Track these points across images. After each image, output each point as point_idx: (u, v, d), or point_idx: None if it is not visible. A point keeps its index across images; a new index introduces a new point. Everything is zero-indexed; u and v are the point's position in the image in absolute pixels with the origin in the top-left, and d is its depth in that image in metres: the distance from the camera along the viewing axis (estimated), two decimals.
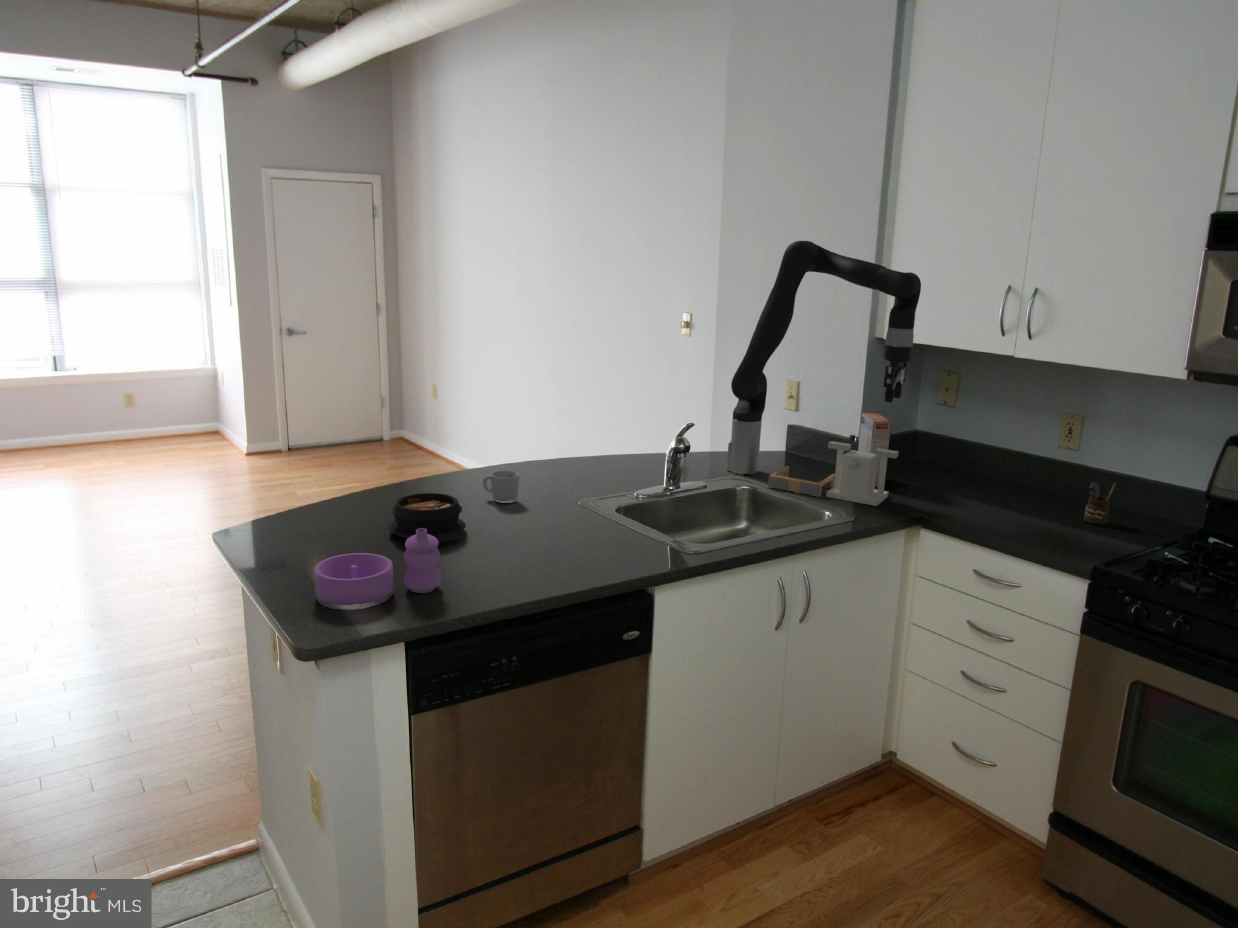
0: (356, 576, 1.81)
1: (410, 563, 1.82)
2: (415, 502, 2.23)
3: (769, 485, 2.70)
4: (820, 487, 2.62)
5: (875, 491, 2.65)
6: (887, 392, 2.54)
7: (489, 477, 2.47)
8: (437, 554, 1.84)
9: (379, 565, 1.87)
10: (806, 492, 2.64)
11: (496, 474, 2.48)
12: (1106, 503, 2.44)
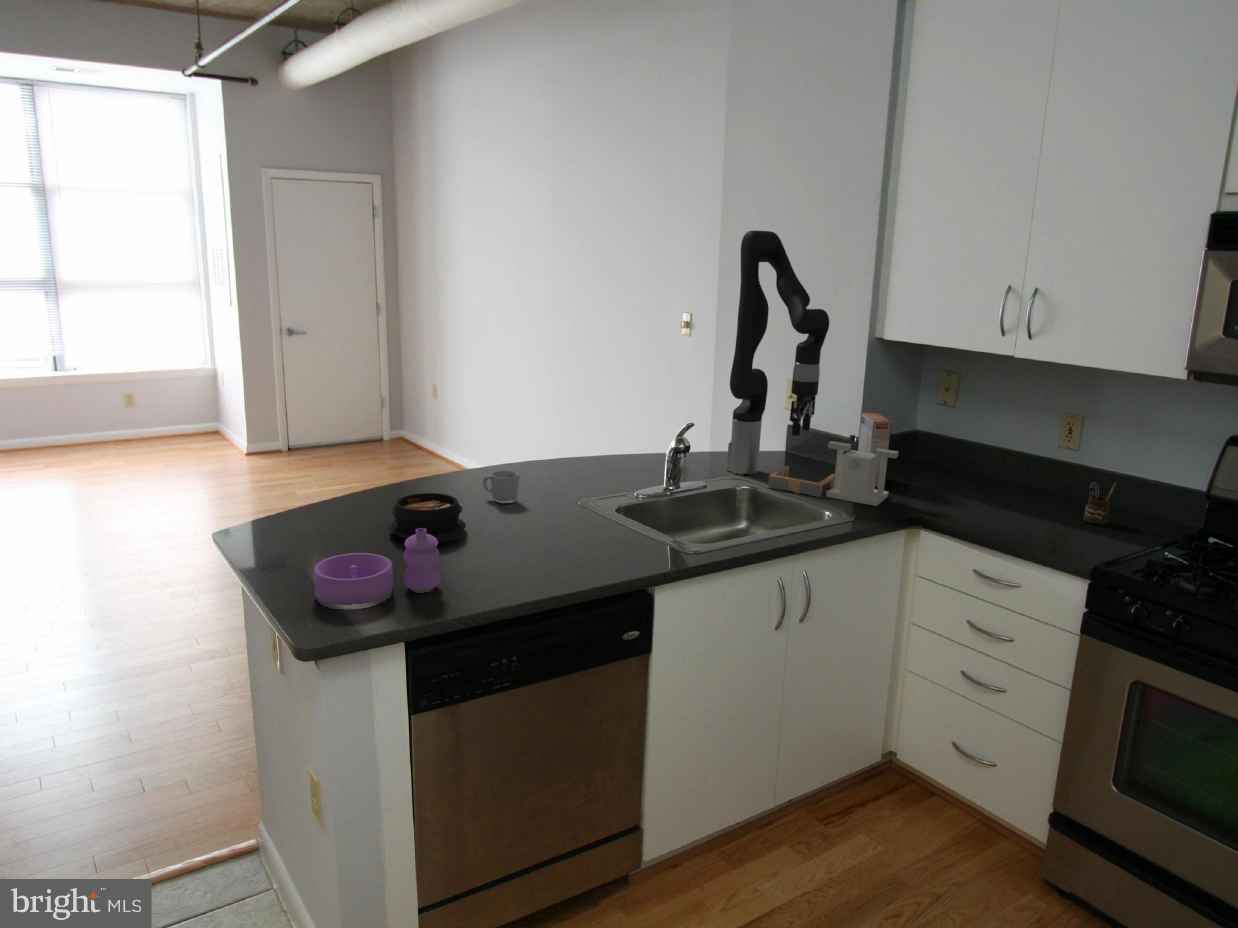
0: (356, 576, 1.81)
1: (410, 563, 1.82)
2: (415, 502, 2.23)
3: (769, 485, 2.70)
4: (820, 487, 2.62)
5: (875, 491, 2.65)
6: (794, 426, 2.58)
7: (489, 477, 2.47)
8: (437, 554, 1.84)
9: (378, 565, 1.87)
10: (806, 492, 2.64)
11: (496, 474, 2.48)
12: (1106, 503, 2.44)
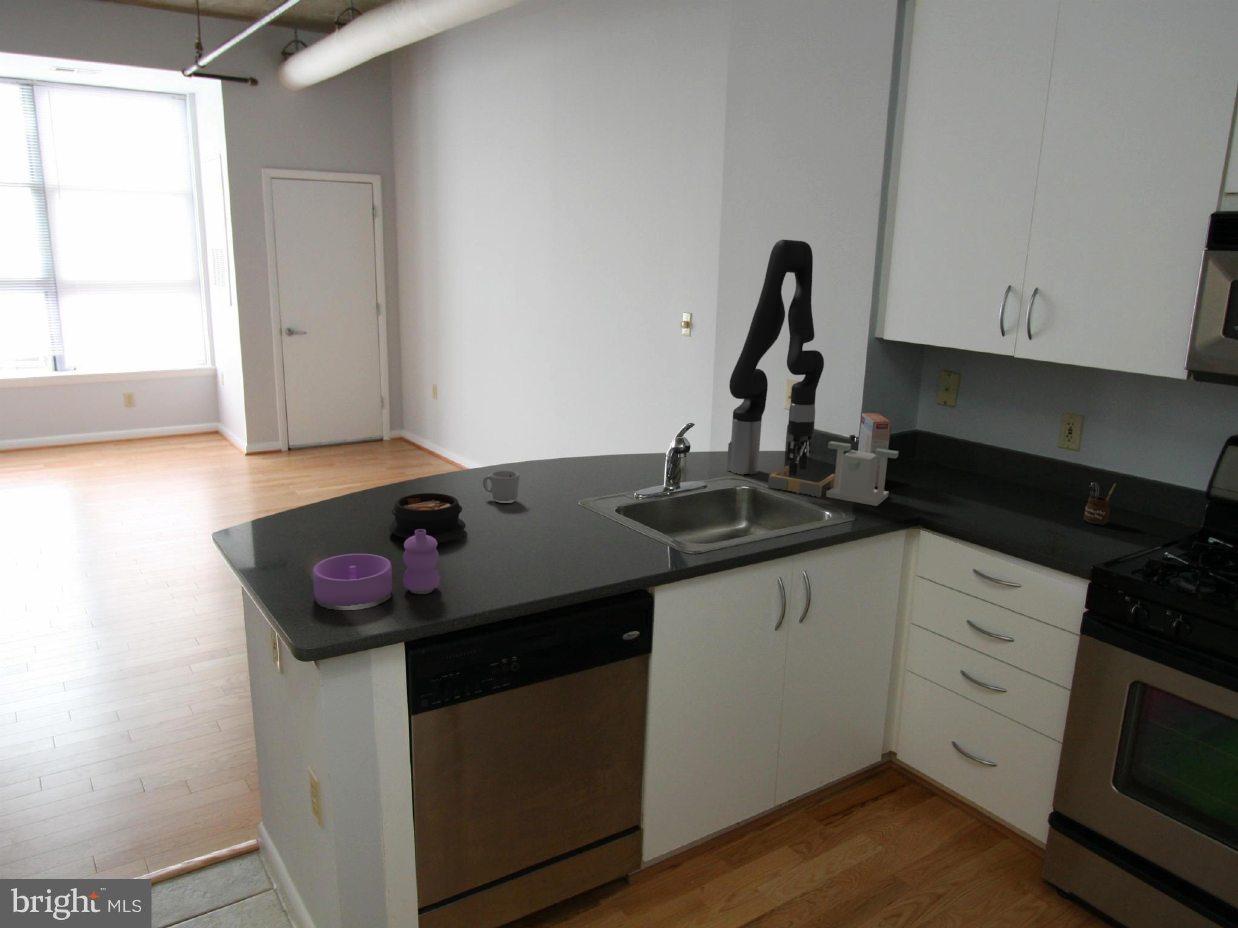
0: (355, 577, 1.81)
1: (409, 564, 1.82)
2: (415, 502, 2.23)
3: (769, 485, 2.70)
4: (820, 487, 2.62)
5: (875, 491, 2.65)
6: (791, 466, 2.61)
7: (489, 477, 2.47)
8: (436, 555, 1.83)
9: (378, 566, 1.87)
10: (806, 492, 2.64)
11: (496, 474, 2.48)
12: (1106, 503, 2.44)
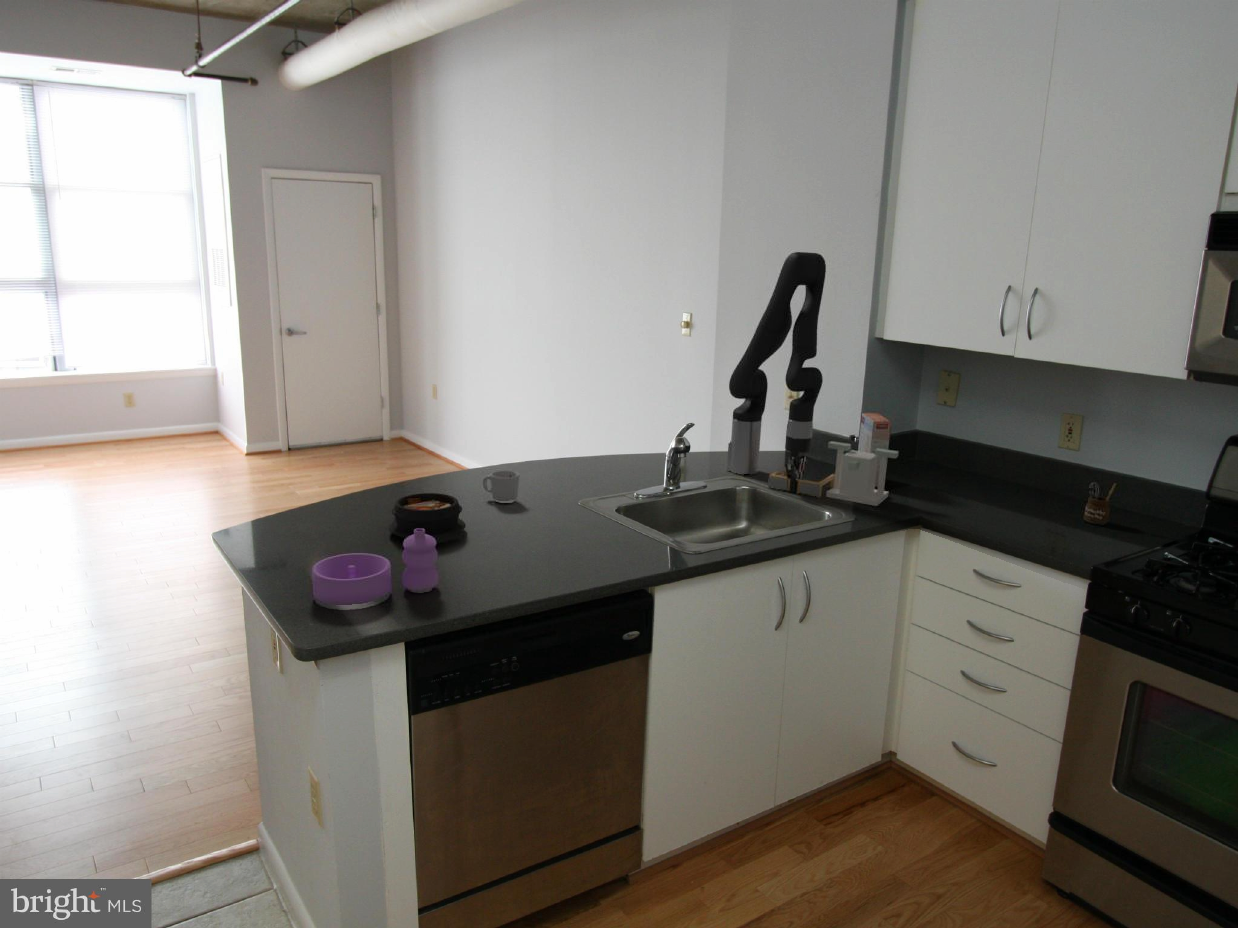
0: (354, 576, 1.81)
1: (408, 563, 1.82)
2: (415, 502, 2.23)
3: (769, 485, 2.70)
4: (820, 487, 2.62)
5: (875, 491, 2.65)
6: (791, 483, 2.65)
7: (489, 477, 2.47)
8: (435, 554, 1.84)
9: (377, 565, 1.87)
10: (806, 492, 2.64)
11: (496, 474, 2.48)
12: (1106, 503, 2.44)
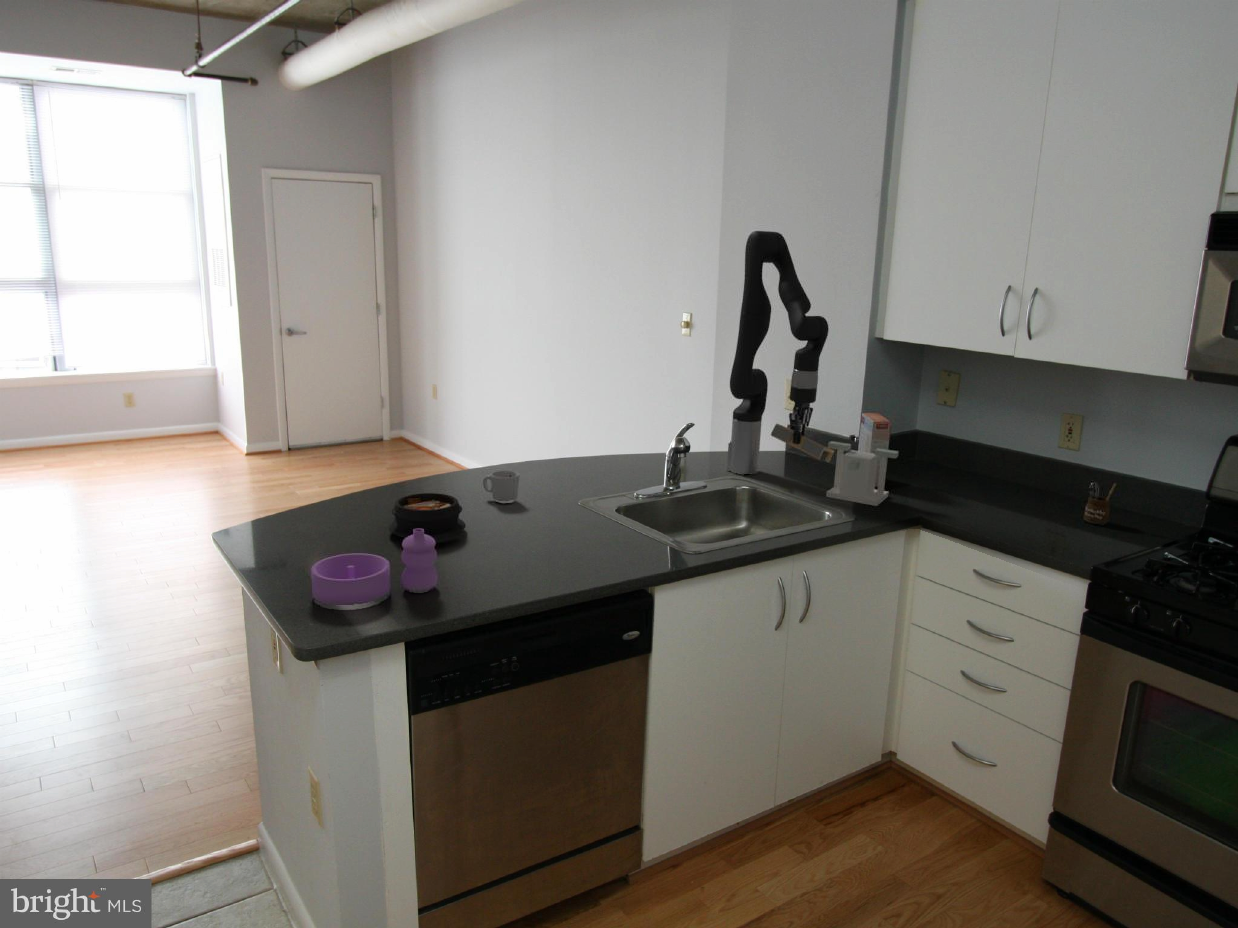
0: (353, 576, 1.81)
1: (407, 563, 1.82)
2: (415, 502, 2.23)
3: (773, 432, 2.65)
4: (823, 449, 2.59)
5: (875, 491, 2.65)
6: (794, 434, 2.61)
7: (489, 477, 2.47)
8: (434, 554, 1.84)
9: (376, 565, 1.87)
10: (807, 450, 2.60)
11: (496, 474, 2.48)
12: (1106, 503, 2.44)
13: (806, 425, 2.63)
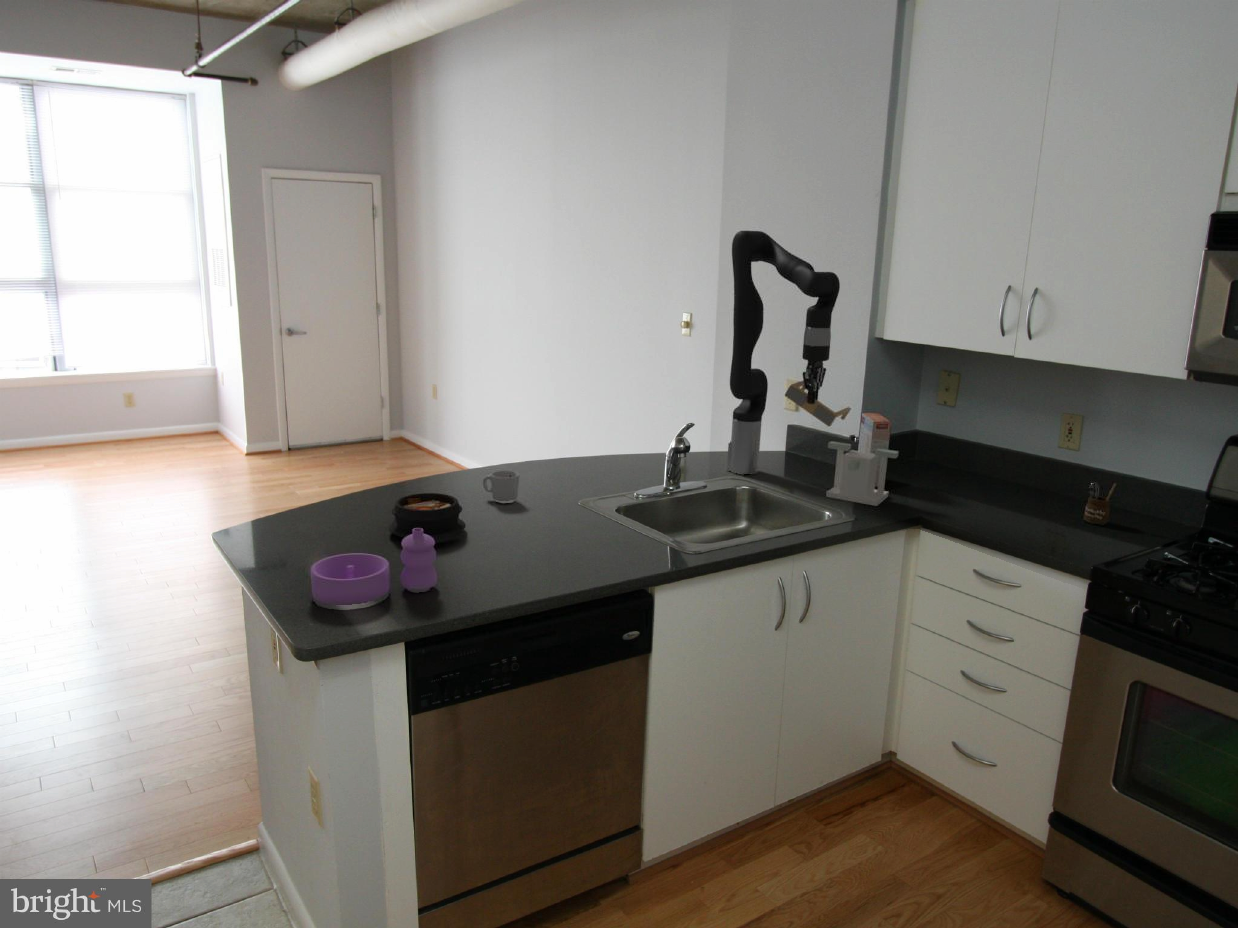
0: (352, 576, 1.81)
1: (407, 563, 1.82)
2: (415, 502, 2.23)
3: (786, 393, 2.61)
4: (834, 418, 2.56)
5: (875, 491, 2.65)
6: (809, 394, 2.56)
7: (489, 477, 2.47)
8: (433, 553, 1.84)
9: (375, 565, 1.87)
10: (819, 416, 2.57)
11: (496, 474, 2.48)
12: (1106, 503, 2.44)
13: (819, 385, 2.58)
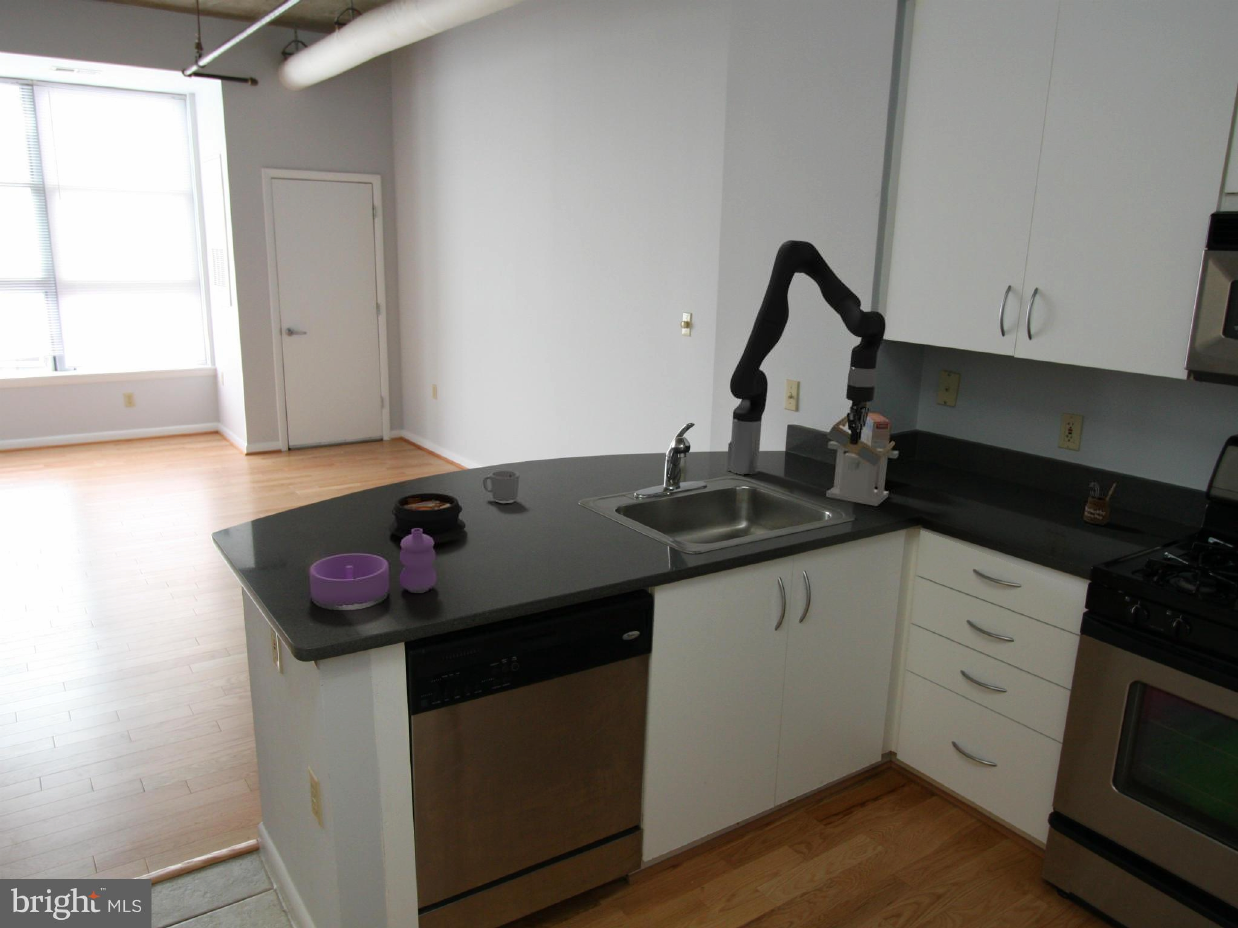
0: (352, 576, 1.81)
1: (406, 563, 1.82)
2: (415, 502, 2.23)
3: (829, 435, 2.56)
4: (880, 458, 2.51)
5: (875, 491, 2.65)
6: (852, 434, 2.52)
7: (489, 477, 2.47)
8: (433, 554, 1.84)
9: (374, 565, 1.87)
10: (864, 457, 2.53)
11: (496, 474, 2.48)
12: (1106, 503, 2.44)
13: (863, 425, 2.54)
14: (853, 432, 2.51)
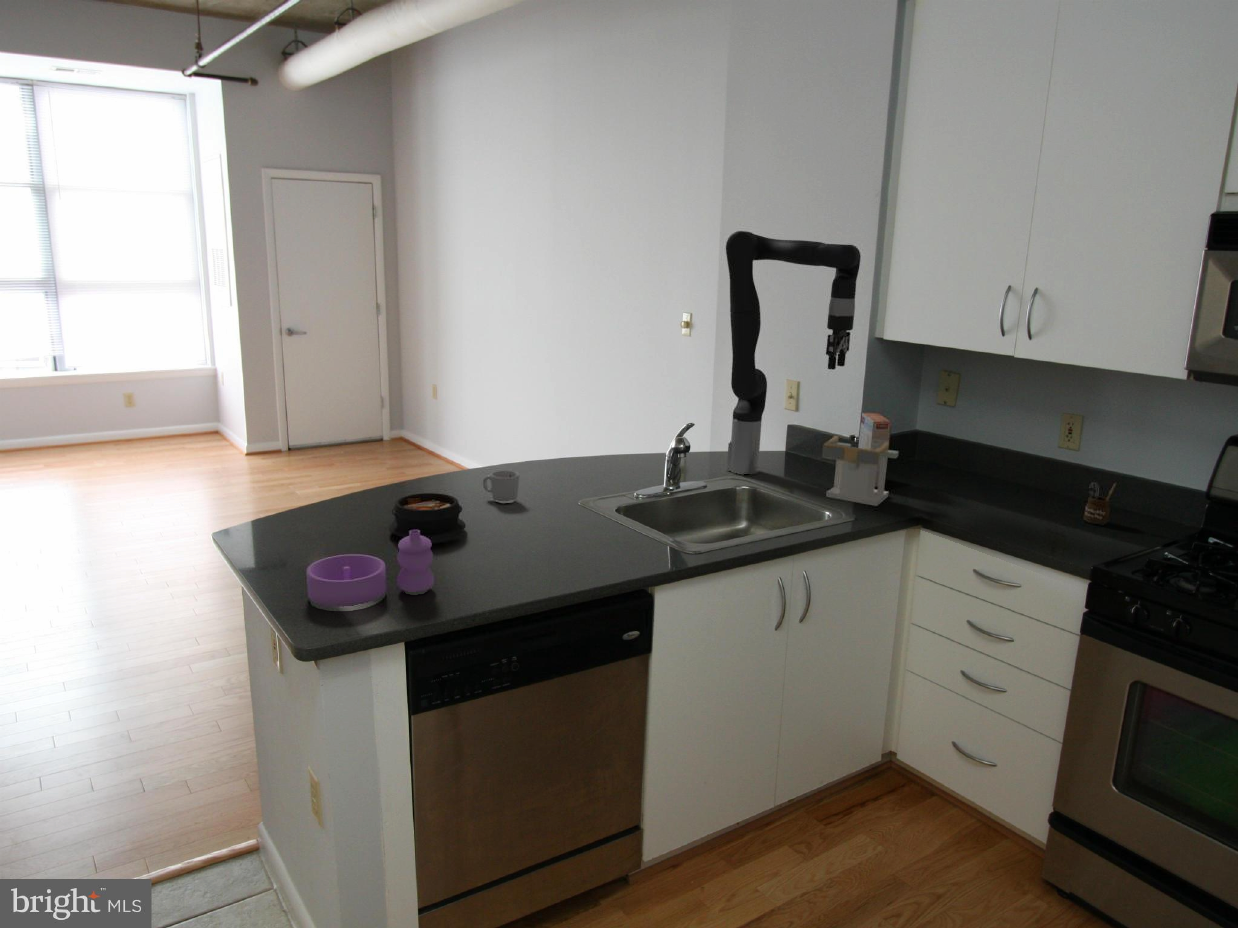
0: (349, 577, 1.81)
1: (403, 565, 1.81)
2: (415, 502, 2.23)
3: (823, 454, 2.59)
4: (879, 455, 2.52)
5: (875, 491, 2.65)
6: (830, 360, 2.64)
7: (489, 477, 2.47)
8: (430, 556, 1.83)
9: (372, 566, 1.86)
10: (864, 460, 2.54)
11: (496, 474, 2.48)
12: (1106, 503, 2.44)
13: (847, 349, 2.72)
14: (831, 357, 2.64)
